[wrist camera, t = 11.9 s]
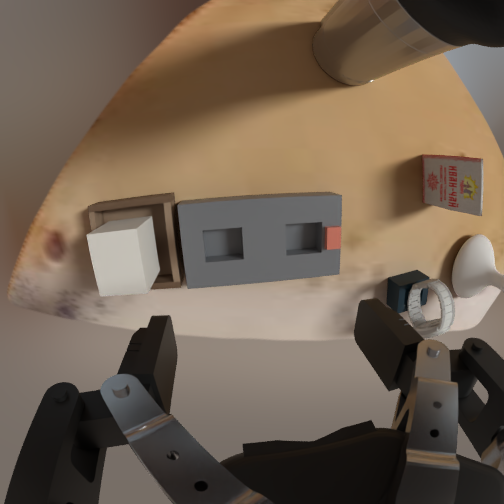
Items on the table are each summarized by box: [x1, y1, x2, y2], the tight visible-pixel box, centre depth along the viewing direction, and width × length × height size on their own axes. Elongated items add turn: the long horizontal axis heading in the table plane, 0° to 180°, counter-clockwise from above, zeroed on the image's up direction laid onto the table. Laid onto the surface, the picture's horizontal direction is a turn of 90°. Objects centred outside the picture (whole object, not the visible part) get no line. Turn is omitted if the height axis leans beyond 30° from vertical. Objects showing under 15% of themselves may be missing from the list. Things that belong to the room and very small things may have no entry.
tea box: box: [422, 155, 483, 216], centre depth 29 cm, size 4×7×10 cm, turn 5°
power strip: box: [177, 192, 342, 289], centre depth 31 cm, size 9×17×4 cm, turn 93°
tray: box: [88, 193, 184, 289], centre depth 30 cm, size 10×9×3 cm
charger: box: [87, 216, 160, 296], centre depth 27 cm, size 6×5×8 cm
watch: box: [387, 270, 455, 338], centre depth 32 cm, size 6×8×11 cm
